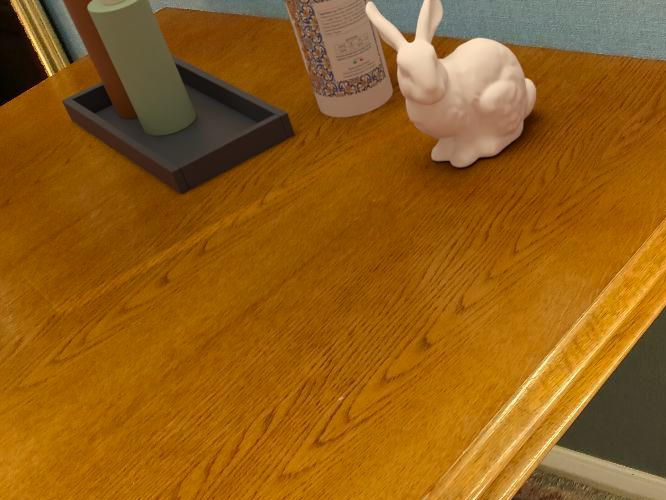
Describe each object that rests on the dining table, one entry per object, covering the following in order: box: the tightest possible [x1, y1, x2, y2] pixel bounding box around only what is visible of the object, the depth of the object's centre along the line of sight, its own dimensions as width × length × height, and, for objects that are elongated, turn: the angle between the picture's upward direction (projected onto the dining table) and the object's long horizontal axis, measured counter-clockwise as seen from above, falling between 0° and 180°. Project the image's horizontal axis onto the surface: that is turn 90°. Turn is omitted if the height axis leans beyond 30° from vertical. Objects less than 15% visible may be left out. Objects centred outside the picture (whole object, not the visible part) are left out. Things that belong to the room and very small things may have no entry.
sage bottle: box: [87, 0, 196, 136], centre depth 89 cm, size 5×5×13 cm
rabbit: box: [365, 0, 537, 168], centre depth 80 cm, size 12×9×12 cm
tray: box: [61, 54, 296, 195], centre depth 92 cm, size 12×24×3 cm, turn 42°
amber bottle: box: [62, 0, 138, 119], centre depth 92 cm, size 5×5×13 cm
